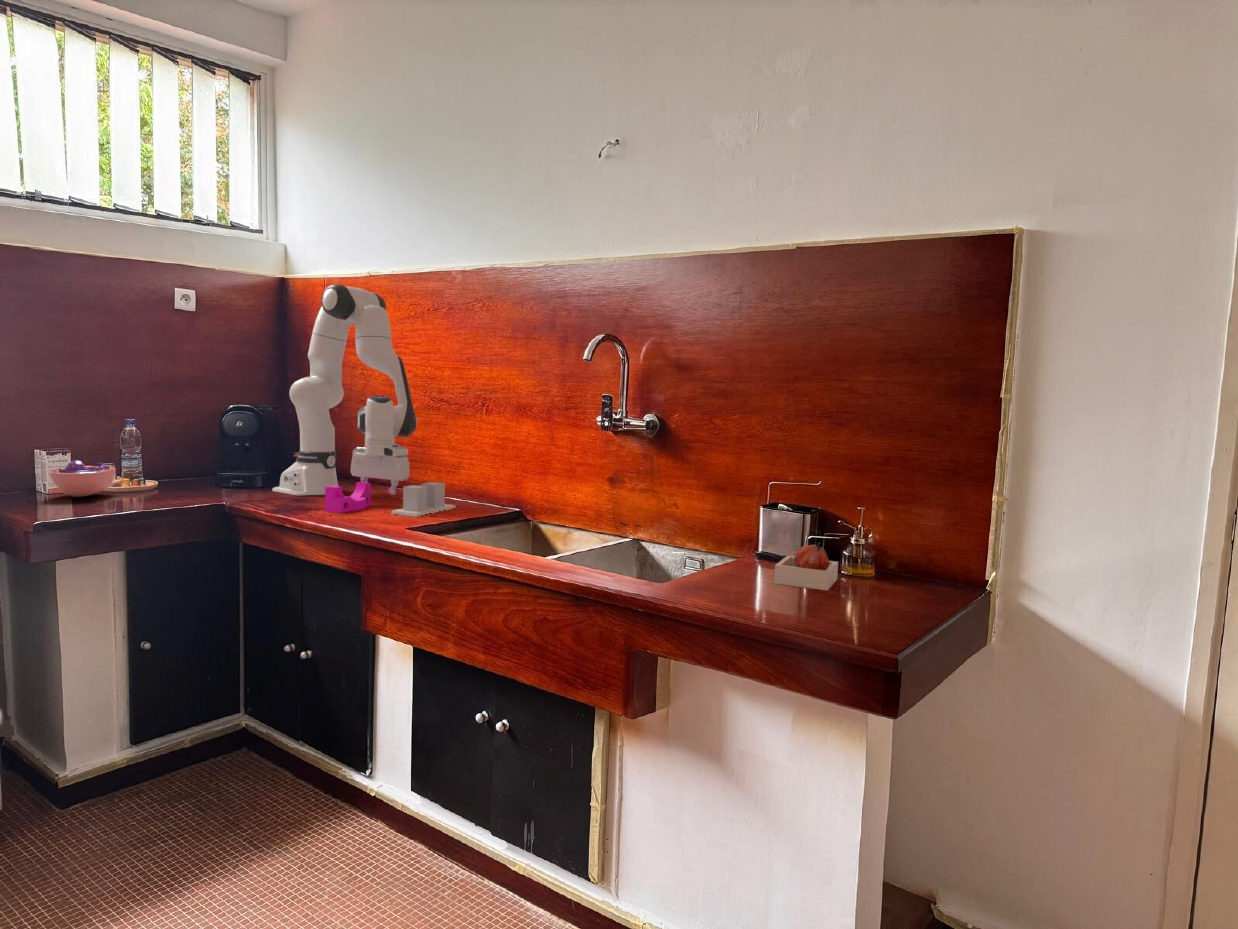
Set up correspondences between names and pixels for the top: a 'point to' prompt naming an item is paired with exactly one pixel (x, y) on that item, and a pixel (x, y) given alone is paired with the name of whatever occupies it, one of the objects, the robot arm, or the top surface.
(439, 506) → the base
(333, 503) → the toy block
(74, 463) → the cell model
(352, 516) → the top surface
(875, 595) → the top surface
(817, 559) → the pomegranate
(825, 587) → the fruit dish
